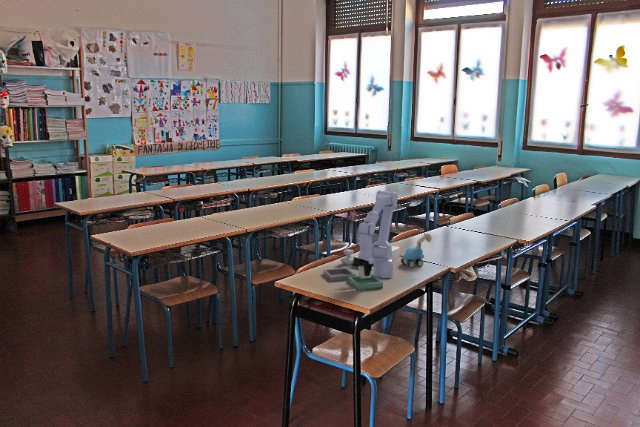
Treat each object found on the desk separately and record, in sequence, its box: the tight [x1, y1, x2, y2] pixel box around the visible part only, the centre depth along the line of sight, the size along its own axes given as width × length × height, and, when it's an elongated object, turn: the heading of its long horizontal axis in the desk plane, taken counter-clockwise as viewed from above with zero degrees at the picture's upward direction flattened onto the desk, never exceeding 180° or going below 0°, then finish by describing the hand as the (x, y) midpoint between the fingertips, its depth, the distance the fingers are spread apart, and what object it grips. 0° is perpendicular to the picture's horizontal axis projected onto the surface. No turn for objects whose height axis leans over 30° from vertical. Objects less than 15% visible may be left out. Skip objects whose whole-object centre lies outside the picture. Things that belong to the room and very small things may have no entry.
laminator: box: [352, 245, 401, 271], centre depth 313 cm, size 34×12×6 cm, turn 146°
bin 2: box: [347, 274, 384, 292], centre depth 272 cm, size 13×13×3 cm
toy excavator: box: [400, 232, 432, 268], centre depth 307 cm, size 9×17×17 cm, turn 112°
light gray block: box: [358, 266, 372, 278], centre depth 271 cm, size 5×4×5 cm
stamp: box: [340, 248, 355, 266], centre depth 307 cm, size 9×7×8 cm
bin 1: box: [322, 267, 357, 283], centre depth 284 cm, size 13×13×3 cm
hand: (365, 274), depth 271 cm, fingers closed on light gray block, 4 cm apart
